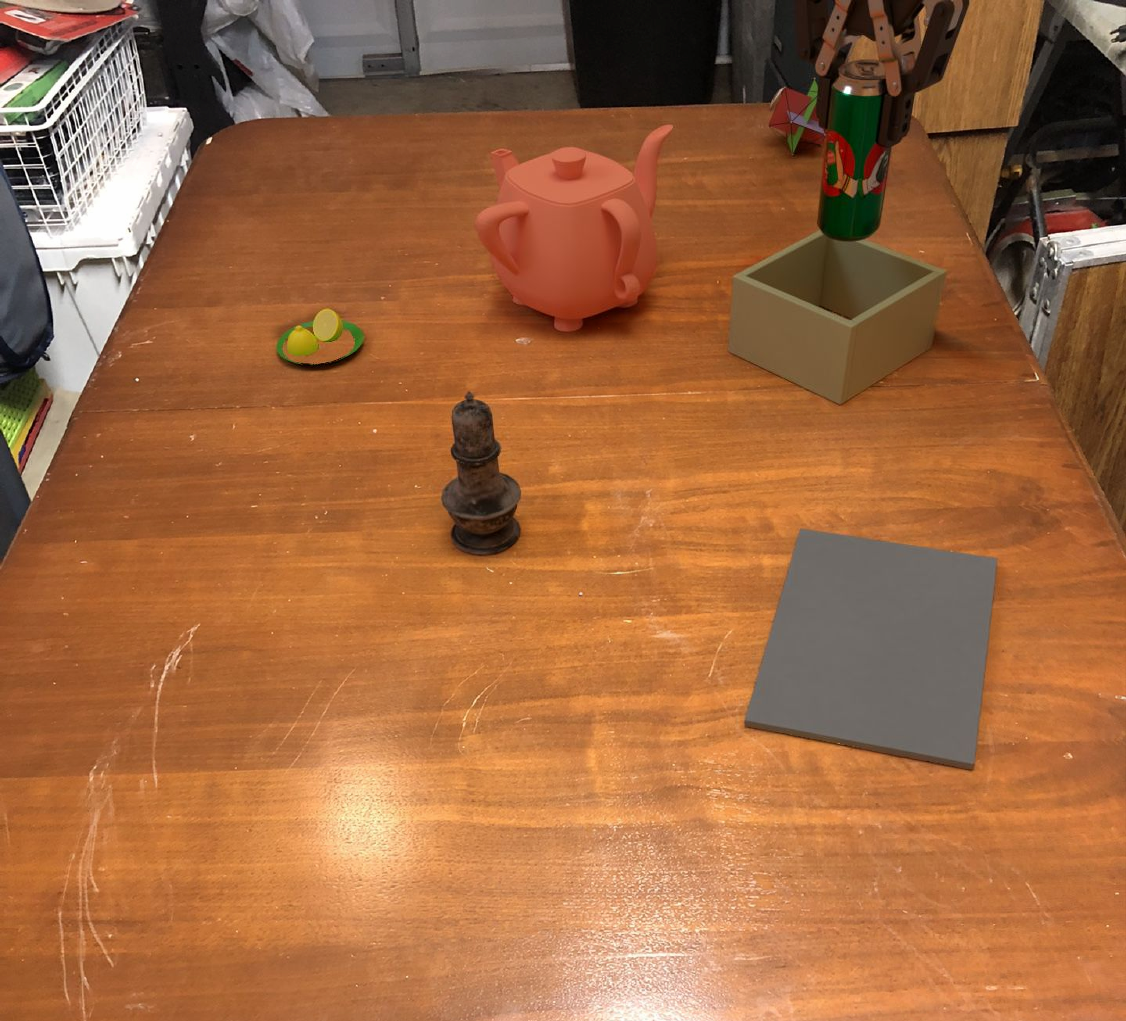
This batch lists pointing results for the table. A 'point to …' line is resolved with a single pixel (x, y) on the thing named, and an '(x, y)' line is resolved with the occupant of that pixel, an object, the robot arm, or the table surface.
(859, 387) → the bin
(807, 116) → the geometric puzzle
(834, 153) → the soda can
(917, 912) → the table surface
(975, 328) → the table surface
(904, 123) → the robot arm
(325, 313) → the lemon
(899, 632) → the mat
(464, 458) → the salt shaker
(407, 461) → the table surface
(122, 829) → the table surface
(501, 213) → the teapot
